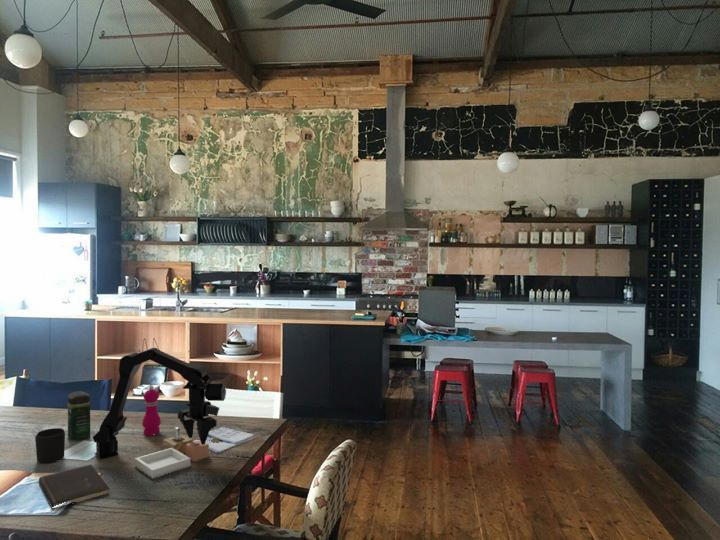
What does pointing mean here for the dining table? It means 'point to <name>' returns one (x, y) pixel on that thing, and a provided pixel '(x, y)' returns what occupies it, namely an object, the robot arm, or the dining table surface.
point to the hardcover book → (73, 485)
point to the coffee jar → (78, 415)
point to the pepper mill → (151, 412)
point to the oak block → (177, 443)
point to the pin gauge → (177, 434)
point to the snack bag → (226, 439)
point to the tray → (162, 462)
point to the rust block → (197, 450)
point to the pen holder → (50, 445)
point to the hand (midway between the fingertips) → (196, 441)
